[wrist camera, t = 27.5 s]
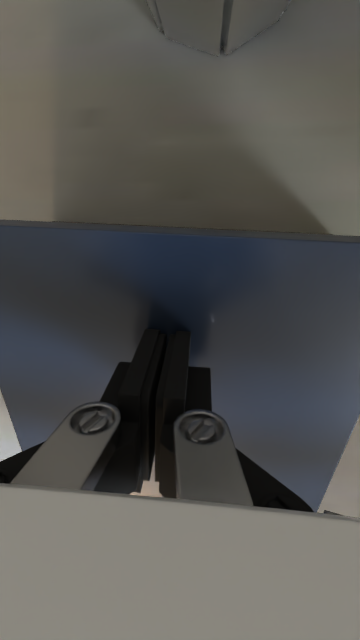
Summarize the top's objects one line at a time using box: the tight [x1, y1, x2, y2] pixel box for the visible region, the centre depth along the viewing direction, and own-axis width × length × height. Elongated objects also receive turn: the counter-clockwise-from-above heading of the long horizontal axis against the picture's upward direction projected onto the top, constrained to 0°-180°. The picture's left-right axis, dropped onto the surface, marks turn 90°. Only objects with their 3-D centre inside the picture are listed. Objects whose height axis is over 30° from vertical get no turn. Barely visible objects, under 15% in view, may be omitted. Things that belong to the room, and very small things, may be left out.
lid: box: [0, 219, 360, 513], centre depth 14 cm, size 17×15×1 cm
